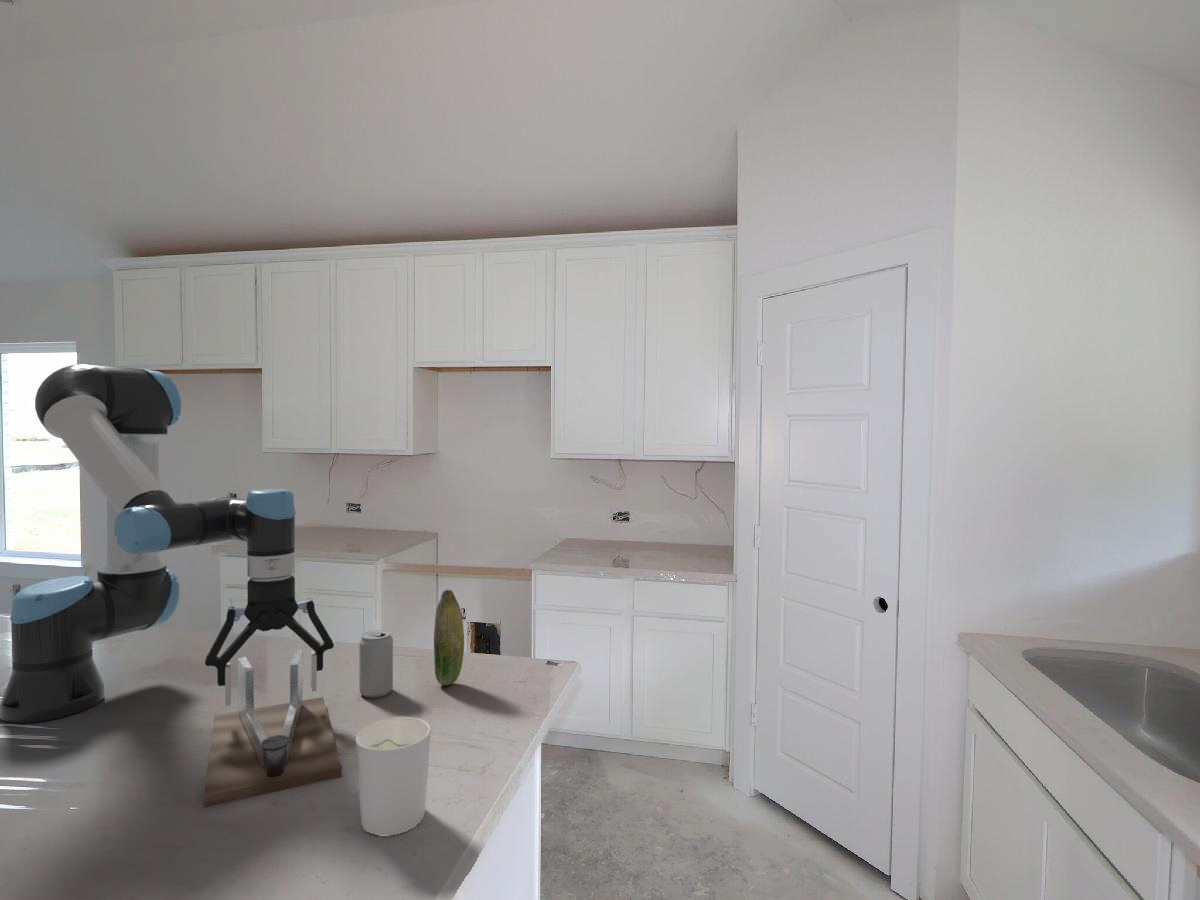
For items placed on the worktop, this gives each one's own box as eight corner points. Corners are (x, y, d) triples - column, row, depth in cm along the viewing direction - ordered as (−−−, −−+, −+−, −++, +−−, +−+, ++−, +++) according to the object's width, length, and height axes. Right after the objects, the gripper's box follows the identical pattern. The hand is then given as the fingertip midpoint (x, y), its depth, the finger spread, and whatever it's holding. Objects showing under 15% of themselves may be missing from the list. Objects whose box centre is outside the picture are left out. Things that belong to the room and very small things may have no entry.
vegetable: (467, 681, 138) (468, 587, 137) (458, 692, 132) (459, 594, 131) (439, 679, 139) (440, 586, 138) (429, 691, 132) (430, 593, 132)
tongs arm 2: (286, 762, 100) (286, 698, 100) (278, 763, 99) (278, 699, 99) (302, 702, 122) (302, 649, 121) (295, 703, 121) (295, 650, 121)
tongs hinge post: (289, 775, 97) (289, 742, 97) (261, 781, 95) (261, 748, 95) (287, 764, 100) (287, 732, 100) (261, 770, 98) (261, 737, 98)
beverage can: (382, 700, 127) (382, 640, 127) (352, 697, 129) (352, 637, 128) (398, 688, 134) (399, 630, 133) (370, 685, 135) (370, 627, 135)
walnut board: (214, 723, 117) (214, 715, 117) (323, 704, 125) (323, 697, 125) (204, 807, 91) (203, 796, 91) (341, 776, 100) (341, 766, 100)
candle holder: (366, 799, 94) (366, 717, 93) (435, 797, 94) (436, 715, 94) (345, 842, 84) (345, 750, 84) (423, 839, 85) (423, 748, 84)
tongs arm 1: (271, 765, 99) (271, 700, 99) (262, 767, 98) (262, 702, 98) (245, 711, 117) (245, 656, 117) (238, 713, 117) (238, 658, 116)
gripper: (186, 588, 106) (187, 717, 107) (349, 574, 118) (349, 690, 118) (190, 579, 113) (191, 700, 113) (343, 566, 124) (344, 676, 125)
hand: (272, 695), depth 116 cm, fingers open, 13 cm apart
